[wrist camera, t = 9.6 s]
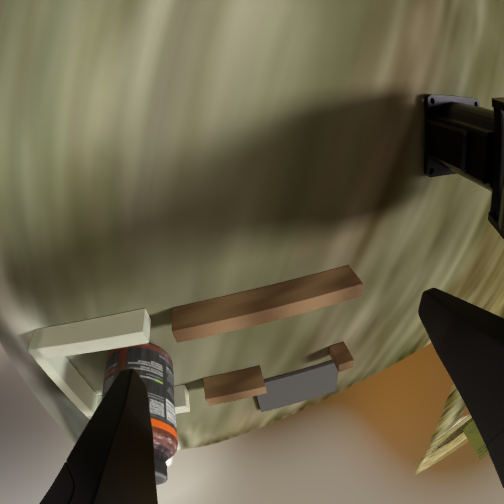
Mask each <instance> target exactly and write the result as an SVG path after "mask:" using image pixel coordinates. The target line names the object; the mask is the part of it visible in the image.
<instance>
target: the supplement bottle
mask: <svg viewBox="0 0 504 504" xmlns="http://www.w3.org/2000/svg"><path fill="white" fill-rule="evenodd" d="M129 368H133V369H135V370H136V371H137V373H138V374H139V376H140V377H141V379H142V380H143V382H144V383H145V385H146V388H147V393H148V401H149V409H150V416H151V423H152V430H153V441H154V462H155V478H156V485H159V484H162V483H164V482H166V481H167V466H166V463H165V462H166V461H167V460H168V459H169V458H171V457H172V456H173V455H174V454H175V452H176V451H177V445H178V442H177V429H176V416H175V399H174V379H173V378H174V377H173V364H172V360H171V358H170V356H169V355H168V354H167V353H166V352H165V351H164V350H163V349H161V348H160V347H158V346H156V345H154V344H151V343H145V344H140V345H134V346H128V347H122V348H116V349H112V350H111V351H110V353H109V355H108V359H107V363H106V370H105V378H104V384H103V392H102V399H103V397H104V396H105V394H106V392H107V391H108V389H109V387H110V386H111V384H112V383H113V381H114V379H115V378H116V376H117V375H118V373H119V372H120V371H121V370H123V369H129Z"/></svg>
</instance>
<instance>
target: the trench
mask: <svg viewBox="0 0 504 504" xmlns="http://www.w3.org/2000/svg"><path fill="white" fill-rule="evenodd" d="M362 289H363V283H362V282H361V280H360V279H359V278H358V277H357V275H356V274H355V273H354V271H353V270H352V269H351V268H350V266H349V265H348V266H344V267H340V268H337V269H333V270H329V271H325V272H322V273H318V274H314V275H310V276H306V277H302V278H298V279H294V280H290V281H286V282H282V283H278V284H274V285H270V286H266V287H262V288H258V289H254V290H249V291H245V292H241V293H237V294H232V295H228V296H224V297H219V298H215V299H211V300H206V301H202V302H197V303H193V304H188V305H184V306H179V307H174V308H172V332H173V335H174V337H175V339H176V341H177V342H182V341H187V340H192V339H197V338H202V337H206V336H211V335H216V334H220V333H225V332H229V331H233V330H238V329H242V328H246V327H250V326H254V325H259V324H263V323H267V322H271V321H274V320H278V319H282V318H286V317H290V316H294V315H297V314H301V313H305V312H308V311H312V310H315V309H319V308H323V307H326V306H330V305H333V304H336V303H340V302H343V301H346V300H350V299H353V298H356V297H360V296H362ZM329 354H330V356H331V358H332V360H333V362H334V364H335V366H336V368H337V370H338V372H340V371H343V370H346V369H349V368H352V367H353V362H354V359H353V358H352V356H351V354H350V352H349V350H348V349H347V347H346V345H345V343H344V342H341V343H338V344H335V345H332V346H330V349H329ZM203 382H204V391H205V399H206V401H207V403H208V405H215V404H220V403H225V402H230V401H235V400H239V399H244V398H248V397H252V396H257V395H261V394H265V393H267V391H266V387H265V383H264V379H263V376H262V372H261V369H260V366H256V367H252V368H248V369H244V370H239V371H235V372H230V373H226V374H221V375H216V376H211V377H206V378H203Z"/></svg>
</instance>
